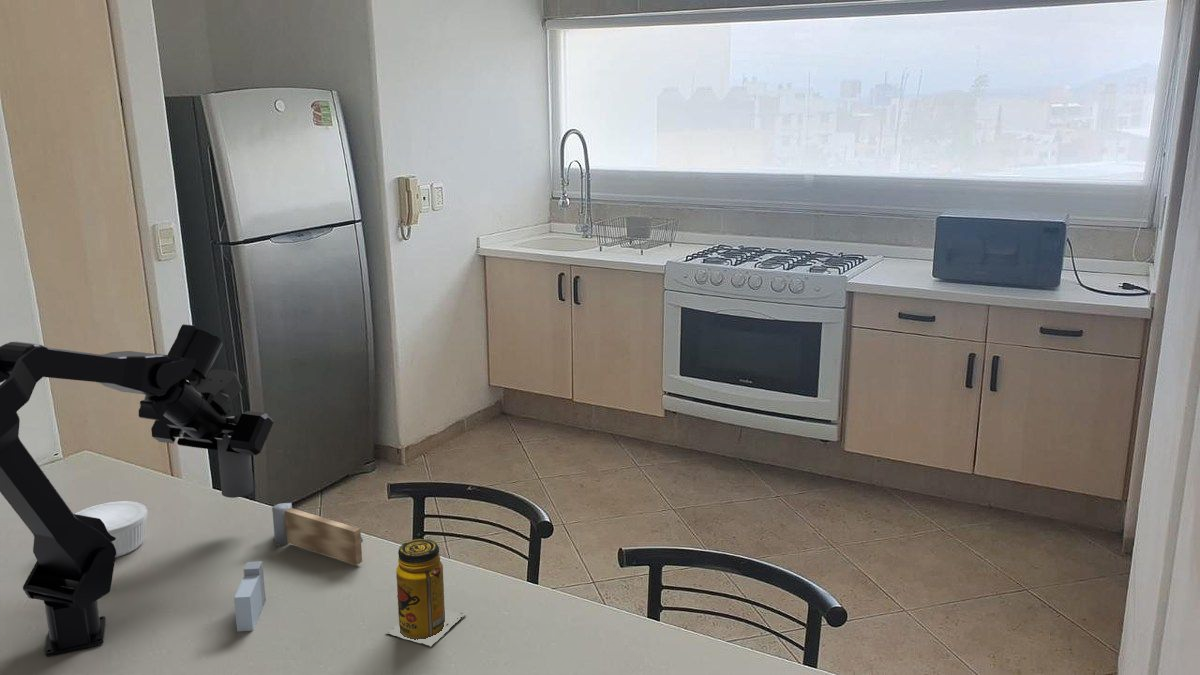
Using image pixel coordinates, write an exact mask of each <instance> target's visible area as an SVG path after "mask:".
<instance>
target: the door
mask: <svg viewBox="0 0 1200 675" xmlns="http://www.w3.org/2000/svg"><path fill="white" fill-rule="evenodd" d="M285 521H286V533H287V543H289V545H293V546H296V547H299V548H303V549H305V550H307V551H308V550H309V551H311V552H315V553H318V554H320V555H324V556H327V557H330V558H333V559H337V560H339V561H343V562H345V563H348V564H352V565H355V566H358V565H359V564H362V562H363V554H362V553H363V552H362V543H363V542H364V540H363V537H362V535H361V534H362V533H361V528H359V527H356V526H353V525H349V524H346V523H342V522H340V521H336V520H334V519H333V520H332V519H329V518H327V517H326V518H325V517H323V516H320V515H316V514H312V513H309V512H305V511H302V510H299V509H295V508H293V507H292V508H289V509H287V510H285Z"/></svg>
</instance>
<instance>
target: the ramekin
mask: <svg viewBox="0 0 1200 675" xmlns="http://www.w3.org/2000/svg"><path fill="white" fill-rule="evenodd" d="M75 514H77V515H83V516H88V517H94V518H99V519H101V521H102V522H103V523H104V524H105V527H106V529H107V531H108V533H109V534H110V535H111V536H113V537H115V538H116V539H115V540H114V541H112V543H113V544H114V546H115V548H116V556H115V559H117V558H119V557H121V556H125V555H127V554H129V553H131V552H133V551H134V550H136V549H137V548H139V547H140V546H141V544H142V543H143V542H144V540H145V537H146V526H147V518H148V507H146V506H145V505H144V504H143V503H140V502H136V501H130V500H122V501H121V500H120V501H112V502H111V501H110V502H105V503H100V504H96V505H93V506H90V507H87V508H84V509H82V510H80V511H78V512H76V513H75Z"/></svg>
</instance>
